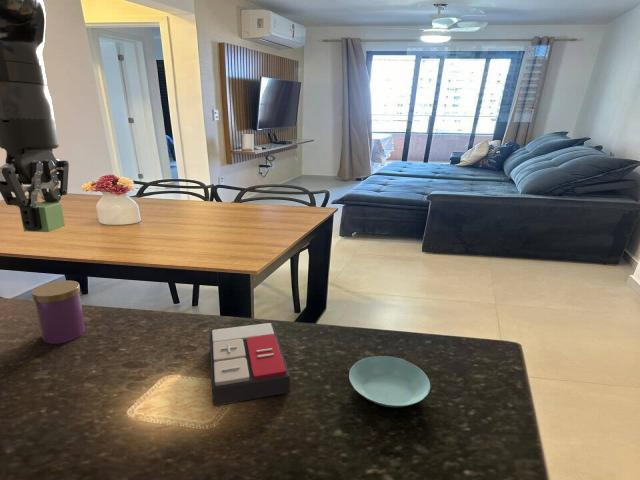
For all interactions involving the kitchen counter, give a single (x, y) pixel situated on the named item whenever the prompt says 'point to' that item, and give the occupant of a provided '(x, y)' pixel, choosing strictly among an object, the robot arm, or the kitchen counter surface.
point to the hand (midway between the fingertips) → (44, 226)
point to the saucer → (389, 381)
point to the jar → (59, 311)
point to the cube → (49, 216)
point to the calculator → (247, 364)
